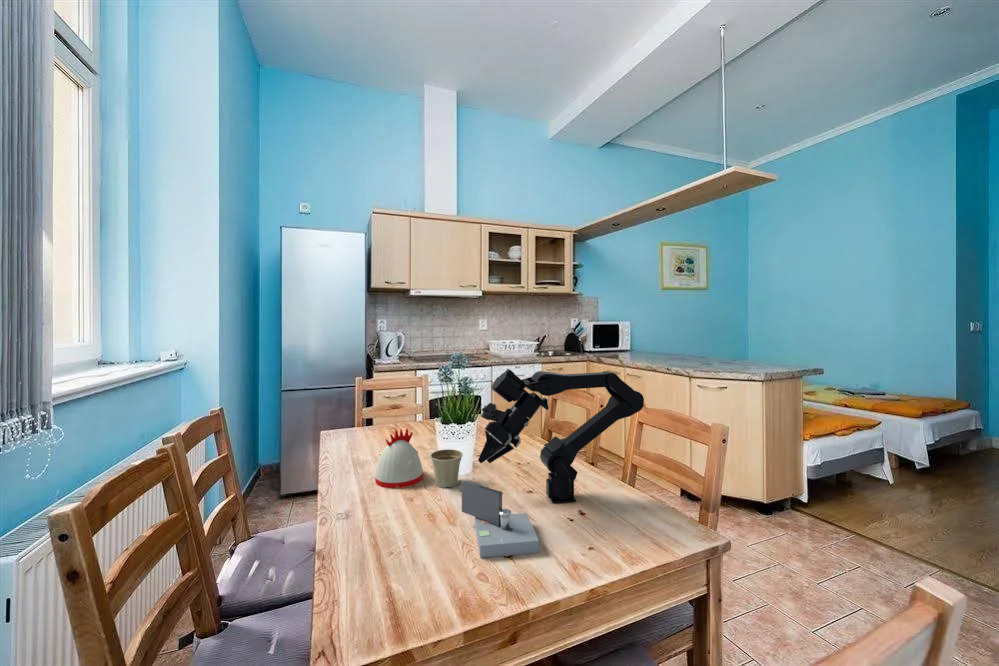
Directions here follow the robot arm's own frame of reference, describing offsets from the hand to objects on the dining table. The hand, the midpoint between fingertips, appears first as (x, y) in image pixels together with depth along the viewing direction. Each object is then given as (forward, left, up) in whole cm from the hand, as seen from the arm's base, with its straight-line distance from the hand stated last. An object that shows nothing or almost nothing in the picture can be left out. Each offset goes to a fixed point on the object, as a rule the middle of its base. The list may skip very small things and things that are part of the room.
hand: (484, 462), depth 103 cm
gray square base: (-3, +16, -11) cm, 20 cm away
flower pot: (+9, -16, -12) cm, 22 cm away
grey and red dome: (+23, -22, -12) cm, 34 cm away
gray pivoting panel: (+1, +13, -9) cm, 15 cm away
